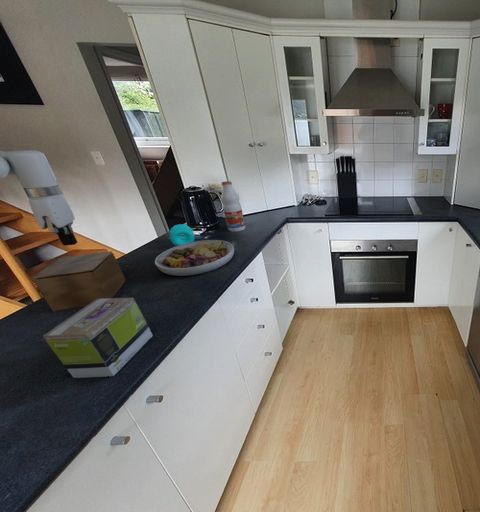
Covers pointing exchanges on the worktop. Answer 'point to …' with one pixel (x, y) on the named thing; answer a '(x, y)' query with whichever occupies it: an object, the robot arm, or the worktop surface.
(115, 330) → the tea box
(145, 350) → the worktop surface
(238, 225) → the fruit juice
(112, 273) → the carton
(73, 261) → the flap
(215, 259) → the bowl
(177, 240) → the cyan donut
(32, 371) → the worktop surface
